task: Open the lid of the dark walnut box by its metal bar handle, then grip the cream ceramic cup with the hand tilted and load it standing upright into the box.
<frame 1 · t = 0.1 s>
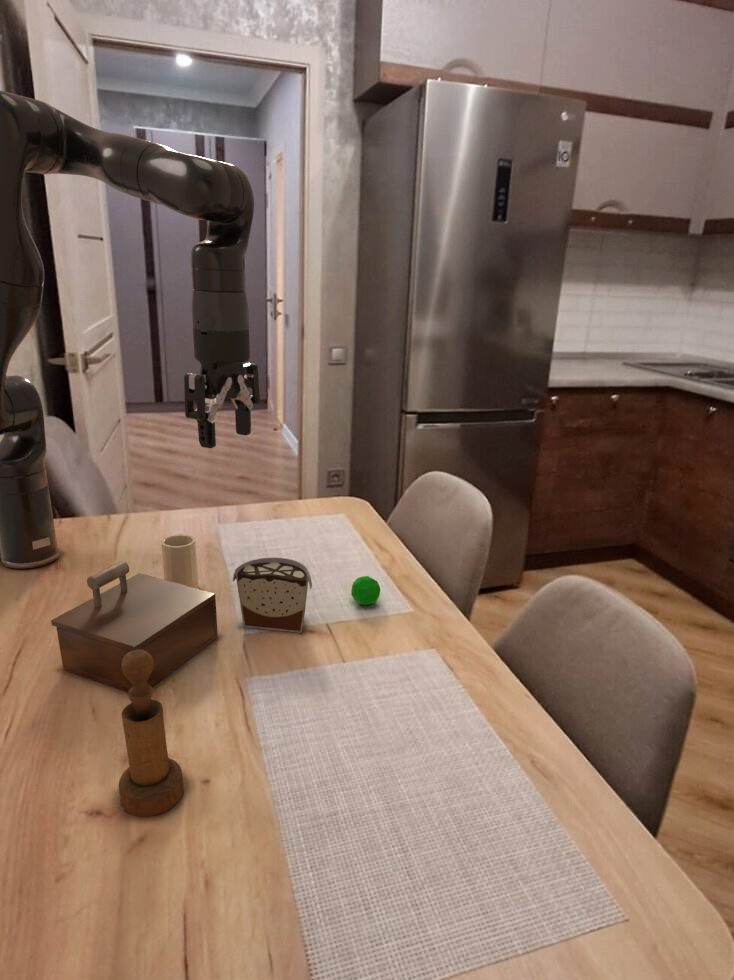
hand: (226, 440, 98), 29 cm above the table, tool pointing down, fingers open, 8 cm apart
food container: (277, 621, 108), on the table
walnut box: (144, 652, 97), on the table
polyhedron: (365, 603, 115), on the table
box lid: (135, 593, 94), point 10 cm above the table, hinge at 0.0°
ceramic cup: (182, 594, 114), on the table
mortar and pestle: (152, 795, 73), on the table
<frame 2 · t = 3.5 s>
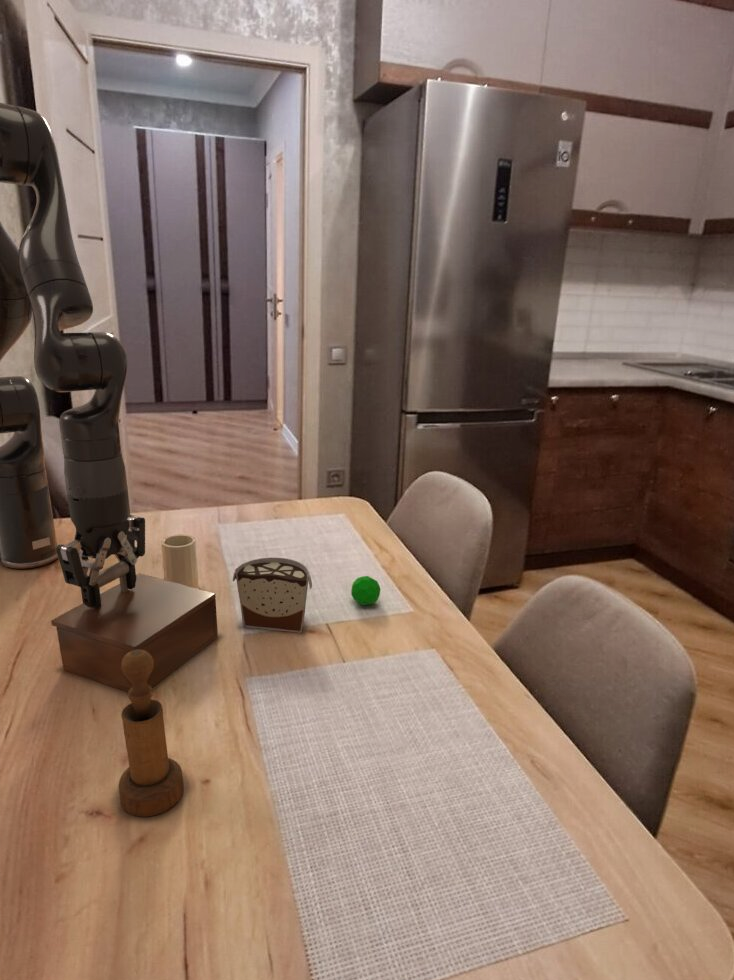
hand: (111, 596, 96), 8 cm above the table, tool pointing down, fingers closed on box lid, 6 cm apart
box lid: (135, 593, 94), point 10 cm above the table, hinge at 0.0°, touching gripper
everything else where it was.
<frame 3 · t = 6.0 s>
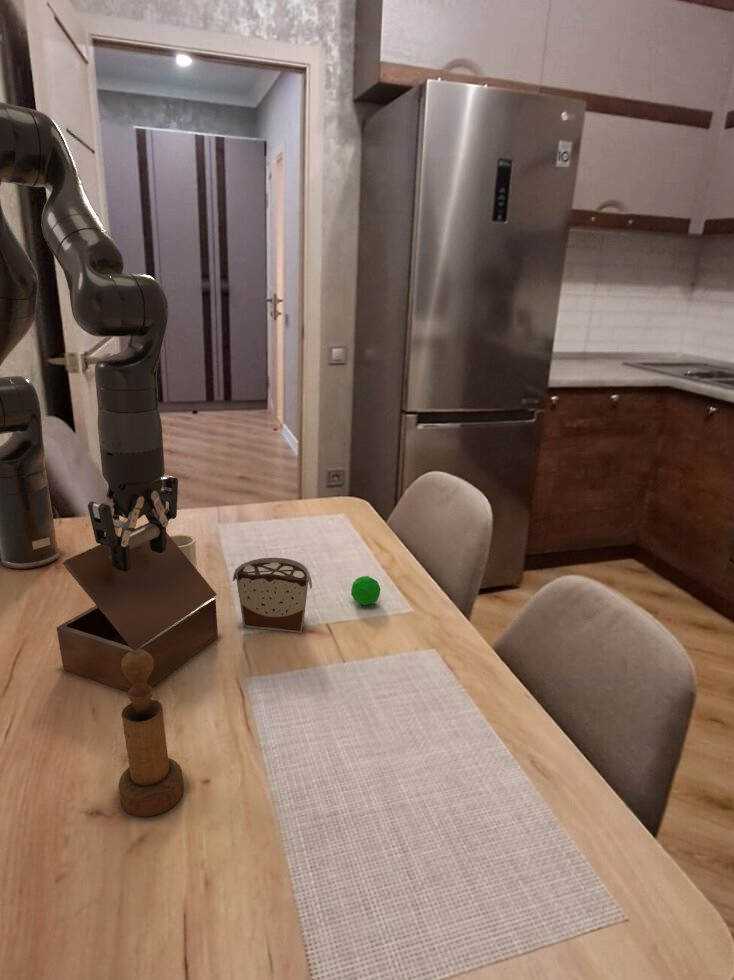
hand: (141, 559, 91), 15 cm above the table, tool pointing down, fingers closed on box lid, 6 cm apart
box lid: (154, 571, 91), point 14 cm above the table, hinge at 44.1°, touching gripper
everything else where it was.
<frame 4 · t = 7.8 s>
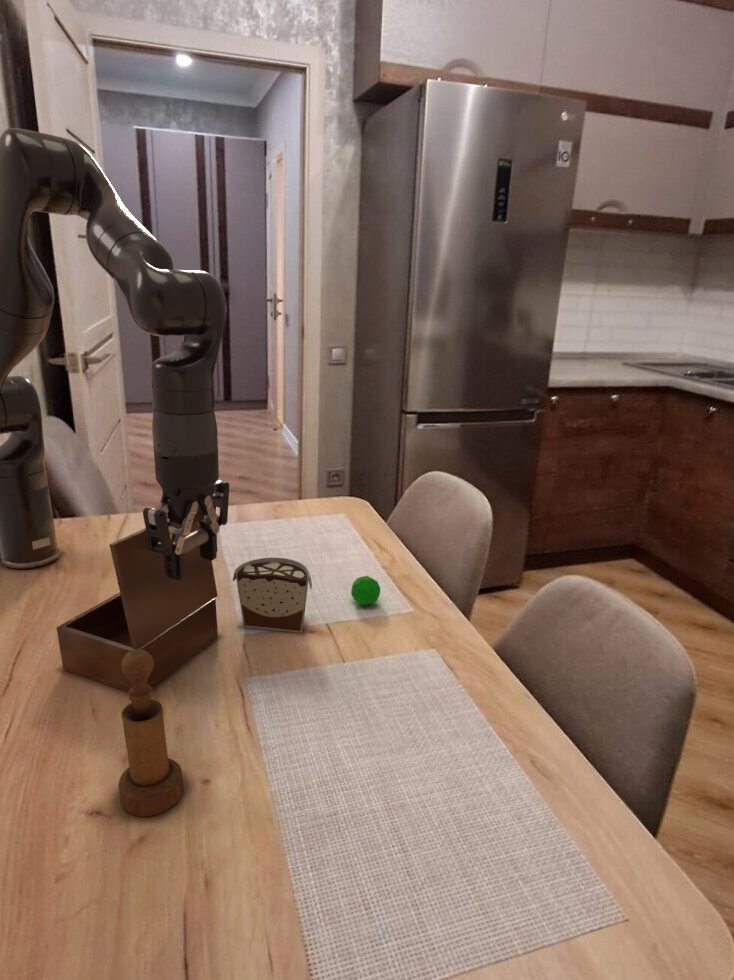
hand: (192, 567, 88), 16 cm above the table, tool pointing down, fingers closed on box lid, 6 cm apart
box lid: (183, 574, 89), point 15 cm above the table, hinge at 82.7°, touching gripper
everything else where it was.
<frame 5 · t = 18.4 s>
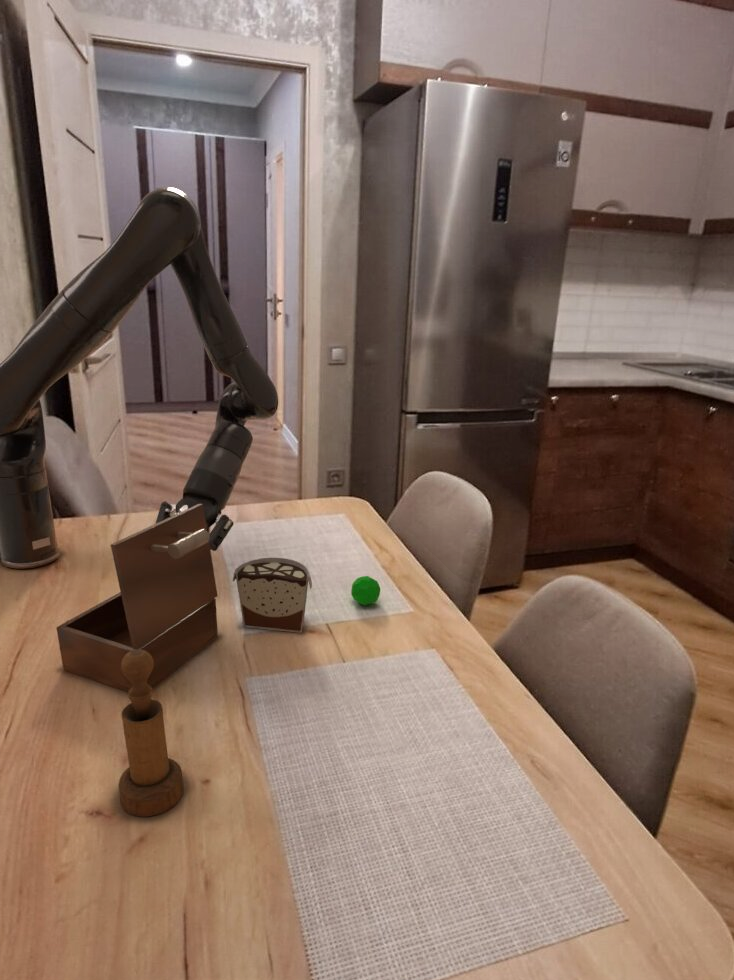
hand: (173, 565, 110), 6 cm above the table, tool tilted 45°, fingers closed on ceramic cup, 5 cm apart
box lid: (183, 575, 89), point 15 cm above the table, hinge at 83.5°
ceramic cup: (182, 594, 114), on the table, touching gripper
everything else where it was.
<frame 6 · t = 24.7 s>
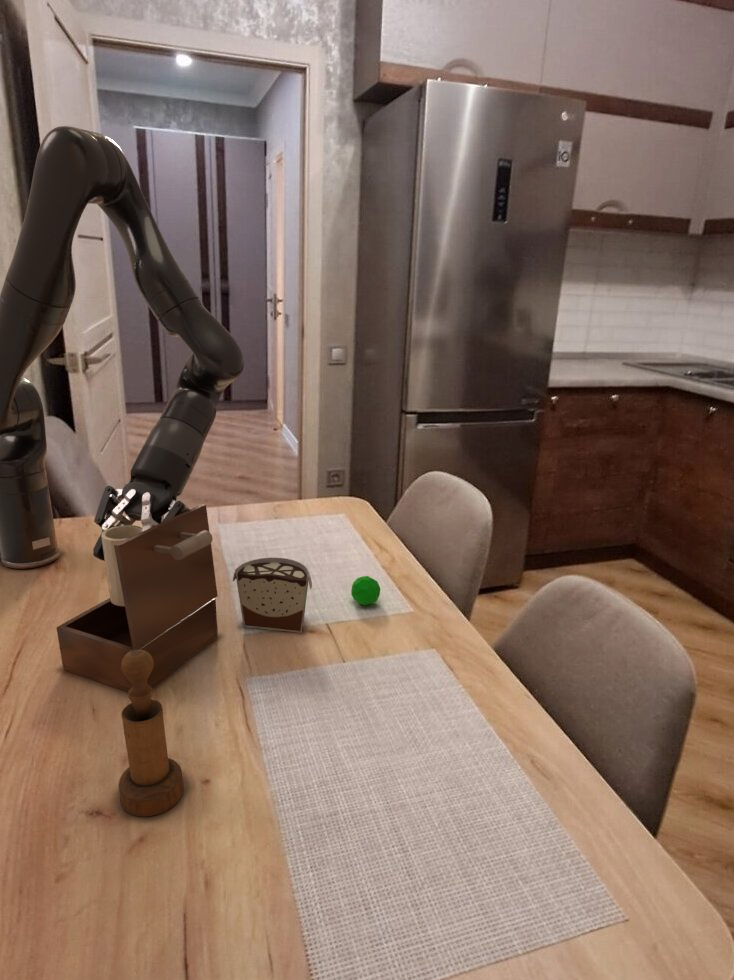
hand: (116, 562, 91), 15 cm above the table, tool tilted 45°, fingers closed on ceramic cup, 5 cm apart
box lid: (185, 575, 89), point 15 cm above the table, hinge at 85.5°
ceramic cup: (130, 597, 95), point 9 cm above the table, touching gripper
everything else where it was.
when the fingers open (7 cm above the table, at t = 27.4 s): ceramic cup stays where it is, resting on walnut box.
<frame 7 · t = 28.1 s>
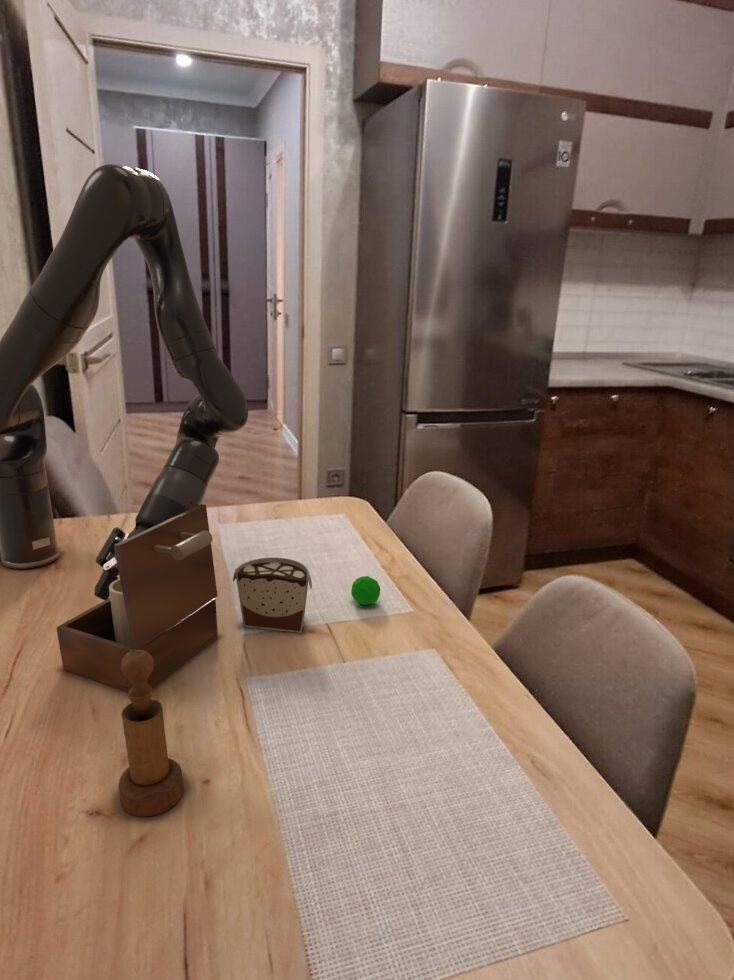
hand: (123, 605, 94), 8 cm above the table, tool tilted 45°, fingers open, 8 cm apart
ceramic cup: (136, 645, 98), point 1 cm above the table, touching walnut box
everything else where it was.
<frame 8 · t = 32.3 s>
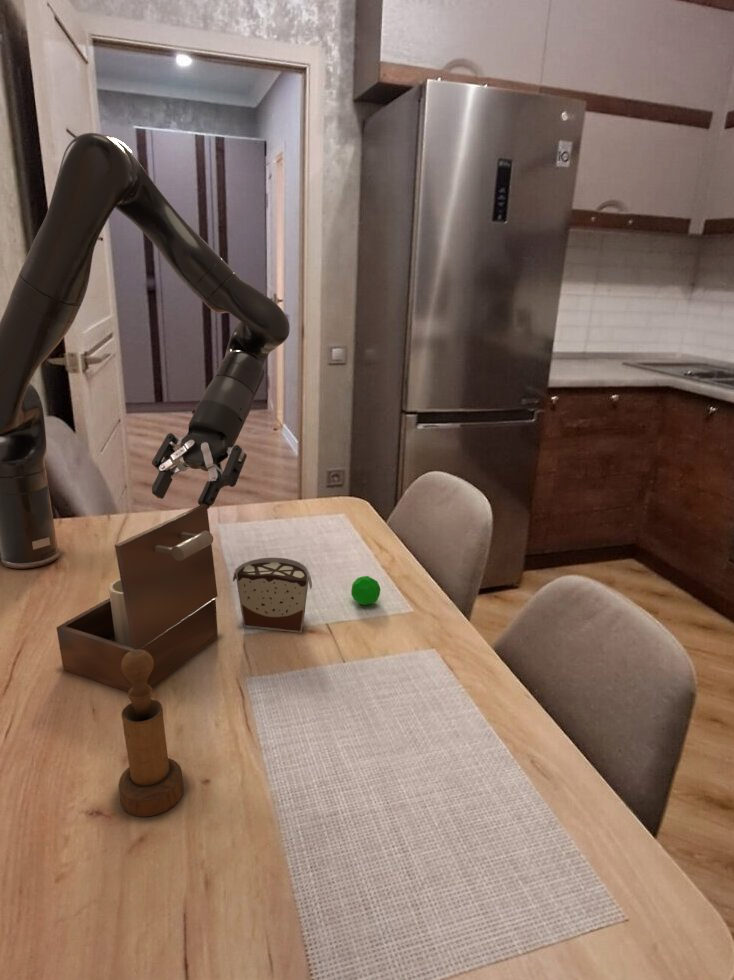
hand: (179, 501, 100), 20 cm above the table, tool tilted 45°, fingers open, 8 cm apart
box lid: (186, 576, 89), point 15 cm above the table, hinge at 86.1°
everything else where it was.
at the end: box lid at +86° (first picture: +0°); ceramic cup inside the target area in the walnut box (1.4 cm from its centre), point 0.8 cm above the walnut box's base; ceramic cup tilted 0° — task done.
